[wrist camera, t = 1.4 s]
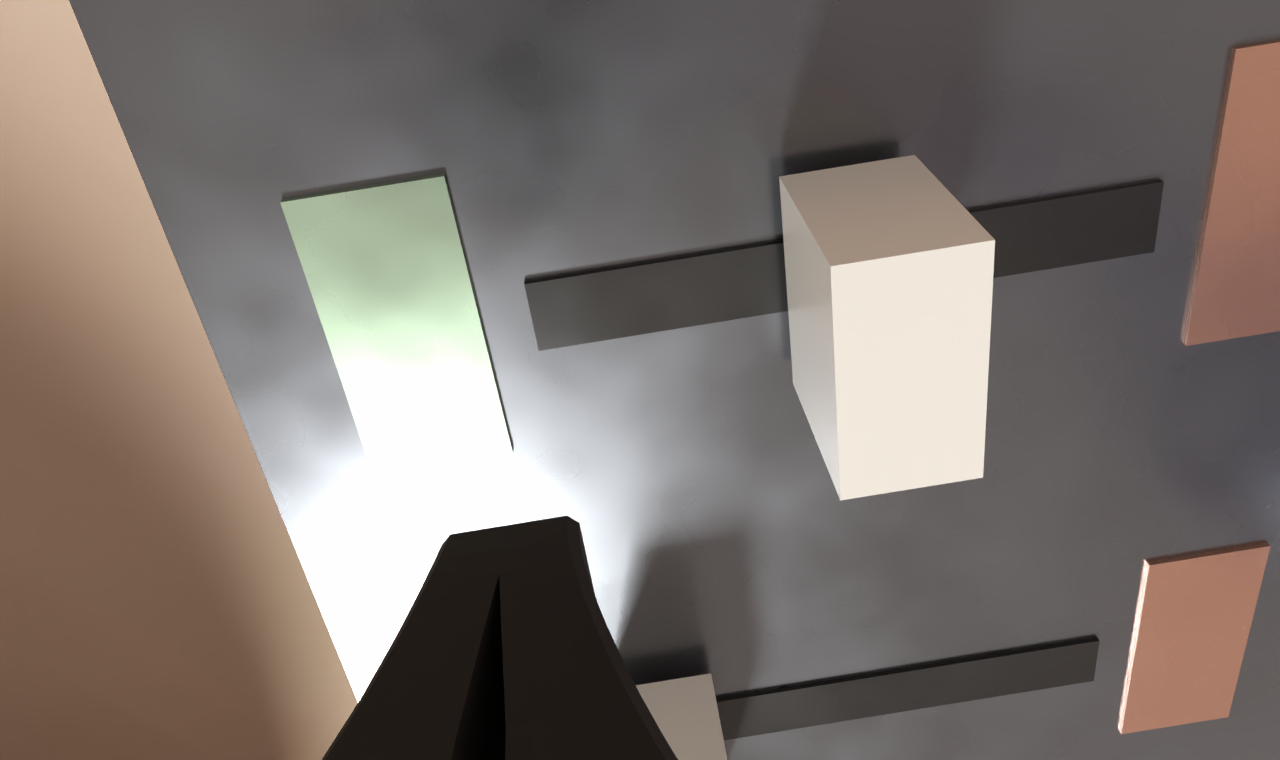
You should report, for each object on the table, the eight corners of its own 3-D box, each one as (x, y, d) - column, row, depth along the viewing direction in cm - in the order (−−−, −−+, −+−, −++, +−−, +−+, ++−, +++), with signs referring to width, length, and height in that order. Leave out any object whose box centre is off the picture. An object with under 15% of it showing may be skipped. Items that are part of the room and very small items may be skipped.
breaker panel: (1501, -362, 14) (1638, -380, 12) (1222, 757, 27) (1270, 828, 25) (81, -135, 14) (15, -120, 12) (467, 879, 27) (461, 958, 25)
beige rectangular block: (914, 154, 15) (995, 239, 12) (913, 364, 17) (983, 477, 14) (779, 176, 15) (831, 266, 12) (793, 384, 17) (840, 500, 14)
